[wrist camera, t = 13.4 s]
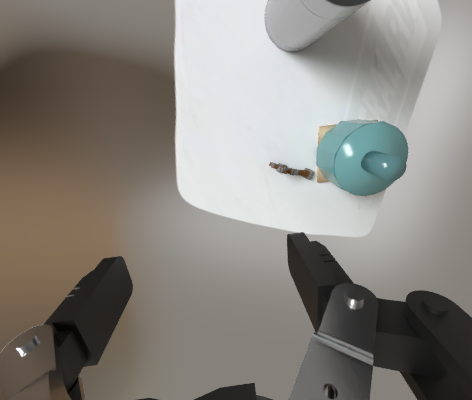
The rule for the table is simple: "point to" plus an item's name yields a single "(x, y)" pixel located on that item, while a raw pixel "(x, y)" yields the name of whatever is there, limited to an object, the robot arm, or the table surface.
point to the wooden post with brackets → (292, 170)
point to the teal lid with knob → (362, 156)
